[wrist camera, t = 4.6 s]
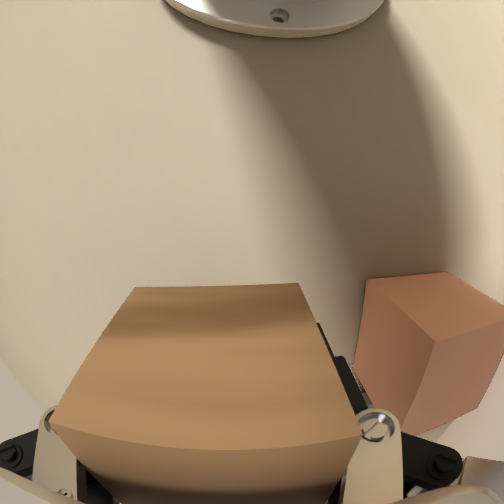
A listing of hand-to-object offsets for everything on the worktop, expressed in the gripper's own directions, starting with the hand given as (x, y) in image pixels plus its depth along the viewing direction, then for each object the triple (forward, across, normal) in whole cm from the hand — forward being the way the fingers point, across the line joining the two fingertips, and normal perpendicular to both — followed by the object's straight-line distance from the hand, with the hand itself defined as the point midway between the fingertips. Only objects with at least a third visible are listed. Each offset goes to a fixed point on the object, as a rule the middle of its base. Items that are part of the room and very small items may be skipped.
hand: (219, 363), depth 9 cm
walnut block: (+1, 0, 0) cm, 1 cm away
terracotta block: (+4, -10, +2) cm, 11 cm away
